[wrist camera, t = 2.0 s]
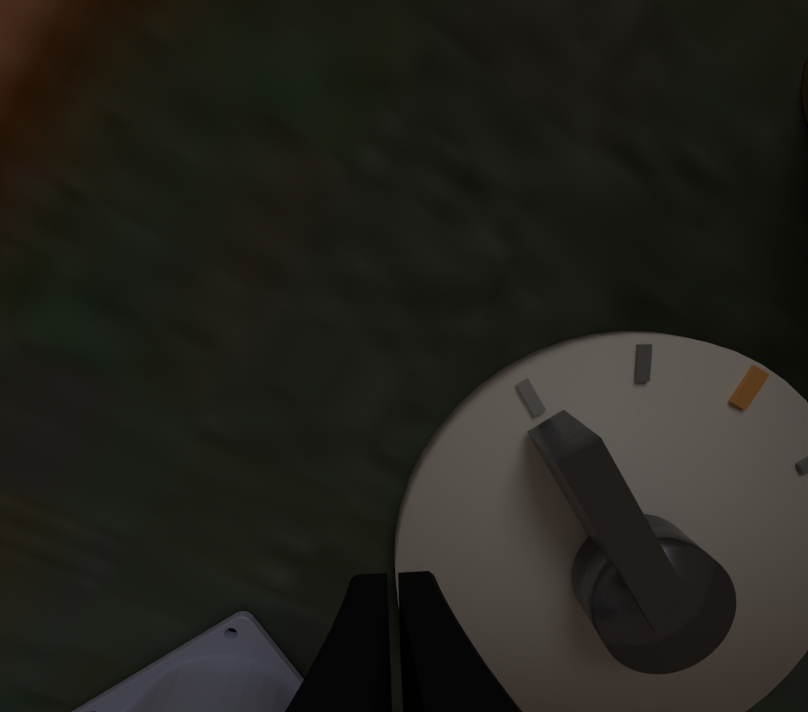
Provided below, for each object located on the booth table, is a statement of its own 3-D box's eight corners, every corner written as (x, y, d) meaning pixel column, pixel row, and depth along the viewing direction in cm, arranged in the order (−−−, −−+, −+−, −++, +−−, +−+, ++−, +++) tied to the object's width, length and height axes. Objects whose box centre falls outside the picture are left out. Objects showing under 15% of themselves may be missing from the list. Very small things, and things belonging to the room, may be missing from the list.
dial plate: (526, 794, 23) (538, 834, 22) (306, 487, 20) (300, 508, 18) (877, 596, 23) (917, 622, 21) (713, 239, 19) (746, 237, 17)
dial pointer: (712, 585, 20) (771, 641, 17) (606, 647, 20) (646, 712, 17) (603, 385, 18) (648, 409, 15) (487, 455, 18) (509, 492, 15)
